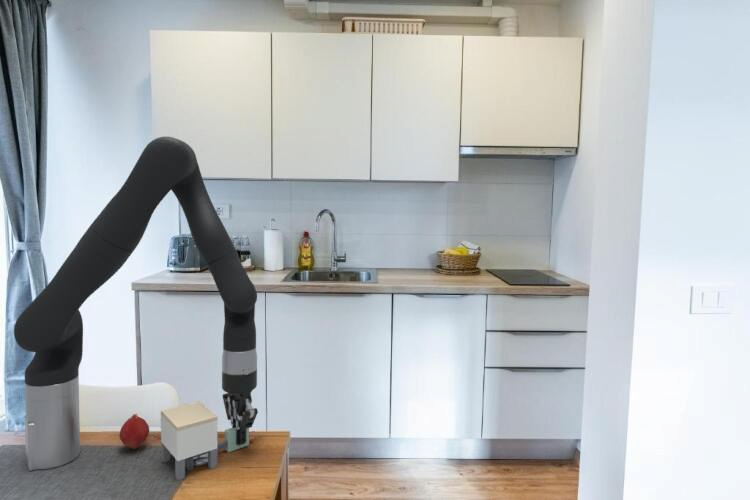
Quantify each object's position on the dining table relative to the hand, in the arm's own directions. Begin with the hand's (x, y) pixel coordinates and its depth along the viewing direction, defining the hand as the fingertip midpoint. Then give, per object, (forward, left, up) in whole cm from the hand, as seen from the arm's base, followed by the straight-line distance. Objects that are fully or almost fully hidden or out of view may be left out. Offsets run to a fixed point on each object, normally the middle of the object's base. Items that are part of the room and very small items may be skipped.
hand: (239, 442), depth 105 cm
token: (-9, 0, -1) cm, 9 cm away
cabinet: (-11, 0, -1) cm, 11 cm away
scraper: (-5, 0, -1) cm, 5 cm away
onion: (-18, +14, -1) cm, 23 cm away
